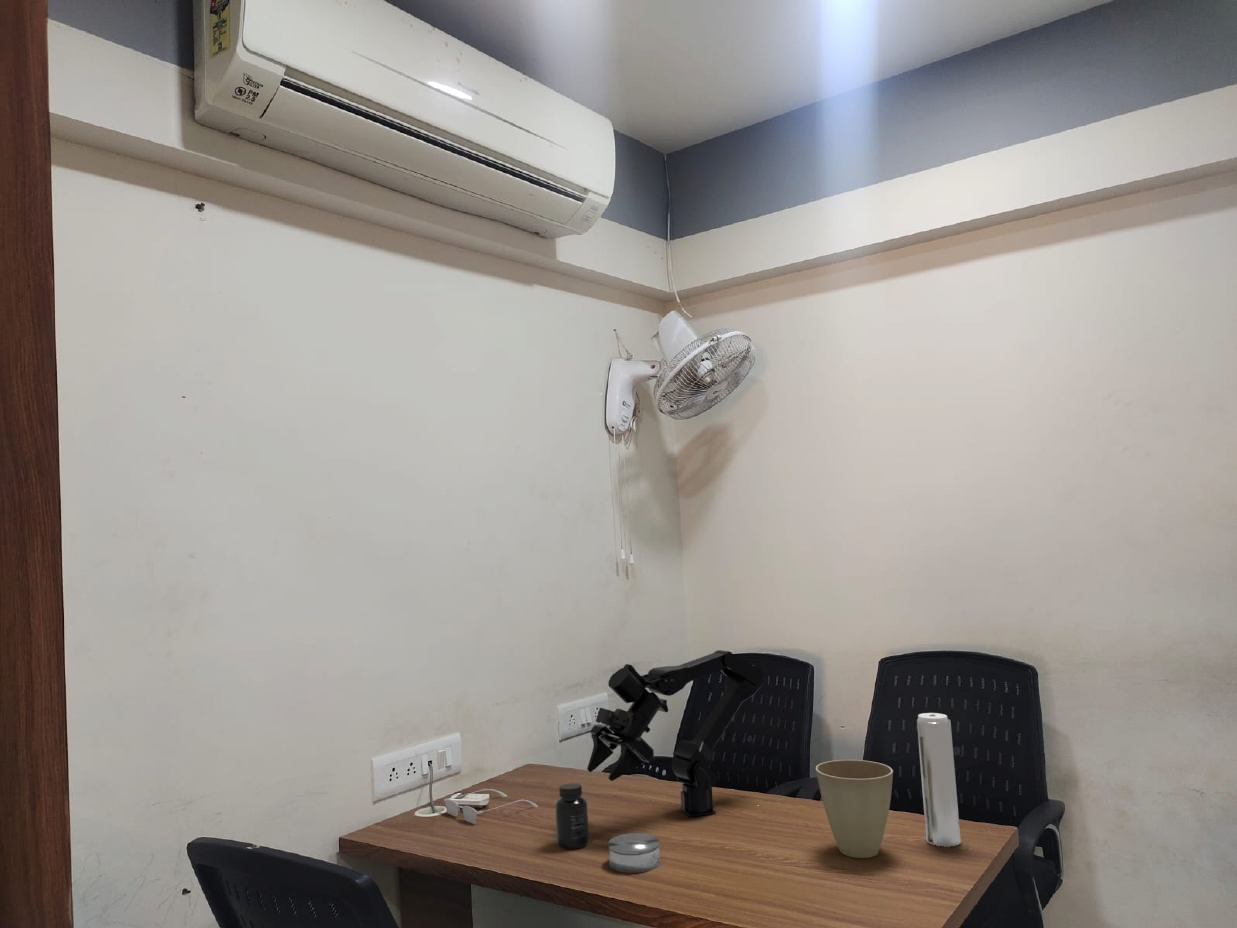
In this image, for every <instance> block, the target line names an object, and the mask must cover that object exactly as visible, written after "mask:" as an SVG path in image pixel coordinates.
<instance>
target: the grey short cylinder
mask: <svg viewBox="0 0 1237 928" xmlns="http://www.w3.org/2000/svg"><path fill="white" fill-rule="evenodd" d="M607 844H608V862H609V867H610V868H611V869H612V870H614V871H617V872H621V873H628V874H632V873H633V874H635V873H643V872H644V873H645V872H648V871H651V870H654V869H656V868H658V867H659V865H660V864H661V856H660V855H661V854H660V852H661V851H660V840H659V838H658V837H657V836H656V835H652V834H649V833H644V832H643V833H642V832H632V833H631V832H629V833H623V834H619V835H617V836H614V837H612V838H611V839H609V841H608V843H607Z"/></svg>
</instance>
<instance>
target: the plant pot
mask: <svg viewBox="0 0 1237 928" xmlns="http://www.w3.org/2000/svg"><path fill="white" fill-rule="evenodd" d="M815 771H816V772H815V773H816V777H817V781H818V787H819V793H820V796H821V799H822V803H823V807H824V810H825V814H826V817H827V820H828V824H829V826H830V829H831V832H832V835H833V838H834V840H835V843H836V845H837V847H838V849H839V851H840V853H841V854H843V856H844V855H845V856H847V857H850V858H856V859H868V858H869V859H870V858H872V857H873V858H874V857H875V856H877V855H878V854H879V851H880V849H881V845H882V842H883V839H884V835H885V831H886V827H887V822H888V817H889V813H890V806H891V799H892V790H893V789H892V788H893V780H894V779H893V776H894V775H893V774H894V769H892V768H891V767H890V766H889V765H887V764H884V763H880V762H876V761H870V760H863V759H862V760H861V759H836V760H830V761H825V762H821V763H818V764H817V765H816V766H815Z"/></svg>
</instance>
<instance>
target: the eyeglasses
mask: <svg viewBox="0 0 1237 928" xmlns="http://www.w3.org/2000/svg"><path fill="white" fill-rule="evenodd" d="M482 791H493V792H496V793H497V794H499V795H500V797H501V798H506V797H508V795H507V794H505V793H504V792H502V791H499V790H497V789H492V788H491V789H490V788H484V789H480V790H476V791H473V792H469V793H465V794H462V795H458V796H455V797H452V798H449V797H448V798H445V799H443V801H444V804H445V808H446V812H447V815H450V816H453V817H456V818H457V817H458V814H459V813H461V809H462V814H463V815H462V816H463V818H464V820H465V822H467V823H471V824H472V825H475V823H476V821H477V816H478V815H481V814H483V813H484V812H488V811H490V810H495V809H498V808H502V807H505V806H508V805H511V804H516V803H518V802H526V803H528V804H529V805H531V806H532V808H538V807H539V805H538V804H536V803H535V802H532V801H531V800H526V799H518V800H515V801H513V802H510V803H507V804H503V805H501V806H497V807H494V808H493V807H492V808H489V809H486V810H480V811H477V810H476V809H475V808H474V807H471V806H469V805H463V806H461V805H459V804H458V803H457V802H456V801H454V799H456V798H459V797H462V796H467V795H470V794H473V793H477V792H482ZM452 799H453V800H452Z"/></svg>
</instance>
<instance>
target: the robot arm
mask: <svg viewBox="0 0 1237 928" xmlns="http://www.w3.org/2000/svg"><path fill="white" fill-rule="evenodd" d="M716 672H717V673H718V672H721V673H722V675H725V676H726V679H725V689H724V692H723V694H722V695H721V697H720V698H719V700H718V702H717V703H716V704H715V706H714V708H713V709H712V710H711V712H710V713H709V715H708V717H707V718H706V720H705V721H704V723H703V725H702V726H701V728H700V729H699V731H697V734H696V735H695V736H694V738H693V739H692V740H690V741H688V740H684V739H683V740H681V742H680V743H679V744H678V747H677V749H675V750H674V752H672V755H673V757H672V759H671V762H670V763H671V764H670V765H671V770H672V772H673V774H674V775H675V776H676V779H677V781H678V783H682V784H681V785H682V790H681V791H680V805H681V807H680V810H681V811H683V812H684V813H685V814H686V815H687V816H688V817H693V818H694V817H699V816H708V815H712V814H713V815H714V814H717V811H716V809H714V803H713V801H714V800H713V788H714V787H716V786H717V781H718V776H717V775H716V774H715V773H714V771H712V770H711V769H710V767H711V765H712V753H713V750H714V748H715V746H716V745H717V743H718V742H719V740H720V738H721V737H722V736H723V734H724V732H726V731H725V730H726V729H727V728H728V726H729V724H730V723H731V721H732V720H733V718H734V716H735V715H736V713H737V711H738V710H739V708H740V706H741V705H742V703H744V701H746V700H748V699H749V698H751V697H753V696H754V695H755V694H756V693H757V691H759V689H760V688H761V687H762V686H763V683H764V681H765V678H764V673H763V670H762V669H761V667H759V666H758V665H756V664H755V665H753V664H751V663H750V662H747V661H745V660H744V659H742V658H740V657H739V656H737V655H735V654H734V653H733V652H731V651H729V650H720V649H719V650H718V649H717V650H715V651H714V652H713V653H712V652H711V653H710V654H707V655H704V656H701V657H699V658H696V659H693V660H690V661H688V662H685V663H682V664H679V665H668V666H659V667H652V668H651V669H650V670H648V673H647V674H643V675H640V673H639V672H637V670H636V669H635V667H634V666H633V665H632V664H629V663H628V664H627V663H626V664H625V665H624V666H623V667H622V668H620V669H618V670H616V671H615V672H614V673H613V674H612V675H611V676H610V678H609V679H608V682H607V683H608V684H607V685H608V687H609V688H610V689H611V690H612V691H613V692H614V693H615V694H616V695H617V696H618V697H619V698H620V699H621V700H622V701H623V703H626V704H630V703H632V704H631V705H630V706H629V707H628V709H627V710H624V709H621V708H616V709H615V710H614V711H613V710H610V709H606V708H603V707H599V710H598V713H597V715H596V717H595V722H596V723H598V724H594V725H593V726H592V728H591V729H590V731H589V734H591V735H590V737H591V739H592V742H593V748H592V752H591V755H590V758H589V762H588V764H587V768H586V770H587V772H589V773H592V772H593V771H595V770H596V769H597V768H598V767H599V766H600V765H601V764H603V763H604V762H605V761H606V760H607V759H608V758H609V757H610V756H612V755H613V754H614V751H615V749H617V748H618V747H620V755H619V757H618V758H617V760H616V762H615V764H614V766H613V768H612V770H611V771H610V774H609V775H608V780H609V781H611V782H613V781H615V780H616V779H619V778H620V777H622V776H623V775H625V774H626V773H629V771H632V770H634V769H636V768H638V767H639V766H642V765H643V766H644V765H645V763H648V764H649V763H650V762H651V760H653V758H654V754H655V753H654V748H653V747H652V746H651V745H649V743H647V742H646V741H645V740H644V739H643V738H642V736H643V734H644V733H646V734H648V733H650V731H651V728H650V727H649V726H650V724H651V723H652V721H653V719H654V718H655V717H656V715H657V713H658V711H660V712H663V713H668V712H669V707H668V704H667V703H668V701H667V699H663V698H660V697H659V696H658V695H657V694H659V695H663V696H668V697H669V696H670V697H671V696H674V695H675V694H677V693H678V692H680V691H682V690H683V689H684V688H685V687H686V686H687V684H689V683H691V682H693V681H695V680H698V679H701V678H704V677H707V676H709V675H712V674H714V673H716ZM600 723H601V724H600ZM602 724H603V725H602ZM606 725H607V726H606Z"/></svg>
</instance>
